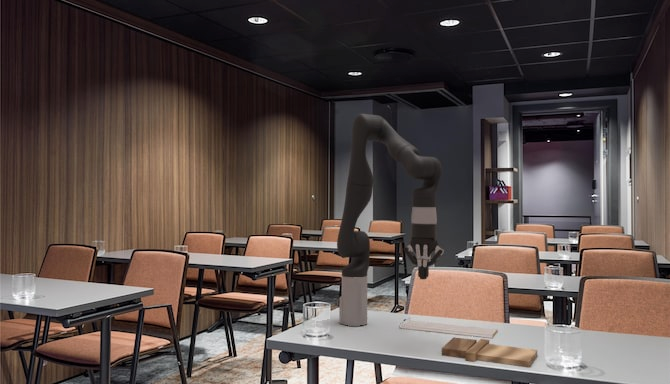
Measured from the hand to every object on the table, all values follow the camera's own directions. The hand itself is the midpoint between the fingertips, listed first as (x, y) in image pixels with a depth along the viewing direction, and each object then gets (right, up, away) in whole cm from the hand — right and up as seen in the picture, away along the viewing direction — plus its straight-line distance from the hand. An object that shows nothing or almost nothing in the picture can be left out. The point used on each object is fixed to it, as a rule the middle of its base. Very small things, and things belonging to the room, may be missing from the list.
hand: (423, 279), depth 164 cm
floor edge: (+20, -20, -12) cm, 31 cm away
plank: (+7, -20, -4) cm, 21 cm away
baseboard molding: (+12, -22, +20) cm, 31 cm away
